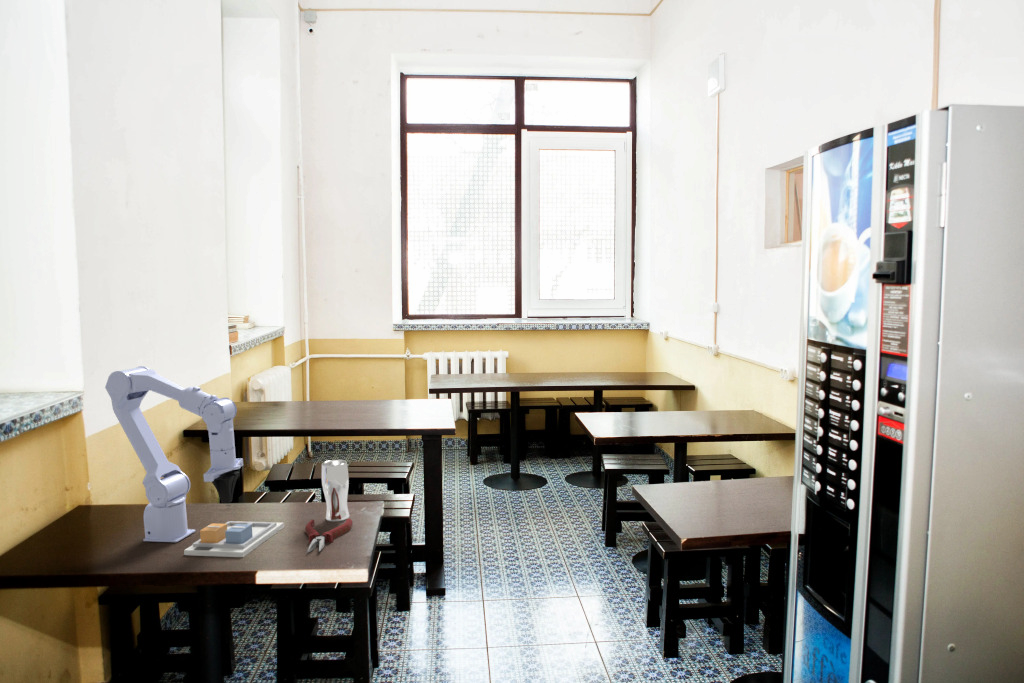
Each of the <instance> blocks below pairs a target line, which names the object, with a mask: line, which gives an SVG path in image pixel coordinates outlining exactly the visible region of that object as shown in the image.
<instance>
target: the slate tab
mask: <svg viewBox="0 0 1024 683" xmlns="http://www.w3.org/2000/svg"><path fill="white" fill-rule="evenodd" d="M225 535H226V543H229V544H243V543H245V542H246V541H248V540H249V539H251V538H252V537H253V536H252V524H236V525H234V526H233V527H231V528H229V529H228V530H226V531H225Z"/></svg>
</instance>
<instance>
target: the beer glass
mask: <svg viewBox="0 0 1024 683" xmlns="http://www.w3.org/2000/svg"><path fill="white" fill-rule="evenodd" d="M349 479H350V477H349V467H348V462H347V460H345V459H332V460H326V461H323V462H322V463H321V487H322V491H323V494H324V499H325V502H326V503H325V504H326V512H325V513H326V514H325V520H326V521H328V522H332V523H333V522H335V523H336V522H341V521H342V522H343V521H346V520H347V518H349V519H350V512H349V507H348V495H349V484H350V483H349V482H350V480H349Z"/></svg>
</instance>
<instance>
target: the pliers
mask: <svg viewBox="0 0 1024 683" xmlns="http://www.w3.org/2000/svg"><path fill="white" fill-rule="evenodd" d="M315 524H316V523H315V520H314V519H311V520H309V521H308V522H307V524H306V525H305V528H304V531H305V534H306V535H307V536H308V544H309V546H308V549H307V551H306V554H308V553H310V552H312V551H314V550H315V549H316V548H317V546H319V547H318V552H319V553H320V552H321V551H322V550H323V548H324V547H325V544H327V543H330V544H331V543H332V544H333V543H334V540H335V539H336V538H338V537H340V536H343V535H344V534H347V533H348V532H349V531H350V530H351V529H352V527H353V520H352V519H351V518H350V517H349V518H347V519H346V520H345V522H344V523H343V524H340V525H338V526H336V527H334V528H331V529H330V530H328V531H326V532H322V534H321V535H320V533H319V532H318V531H317V529H315V528H314V527H315V526H316V525H315Z"/></svg>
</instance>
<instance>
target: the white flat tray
mask: <svg viewBox="0 0 1024 683" xmlns="http://www.w3.org/2000/svg"><path fill="white" fill-rule="evenodd" d="M224 524H227V530H228V529H229V528H231V527H233V526H234V525H236V524H252V536H253V537H252V538H251V539H249V540H248V541H246V542H245V543H243V544H229V543H226V538H225V539H223V540H222V541H220V542H219V543H201V538H199V539H198V540H196V541H195V542H193V543H192V545H190V546H188V547H187V548H185V549H184V550H183V551H184V552H183V553H184V554H183V555H184V556H198V557H199V556H200V557H202V556H203V557H224V558H225V557H226V558H227V557H228V558H244V557H245V556H247V555H249V554H250V553H251V552H252V551H254V550H255V549H256V548H258V547H260V545H262V544H264V543H265V542H266V541H267V540H269V539H270V538H271V537H273V536H274V535H275V534H277V533H278V532H280V530H282V529H284V528H285V522H278V521H277V522H275V521H273V522H271V521H270V522H268V521H243V520H242V521H239V520H236V521H232V520H229V521H226V522H225V523H224Z"/></svg>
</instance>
